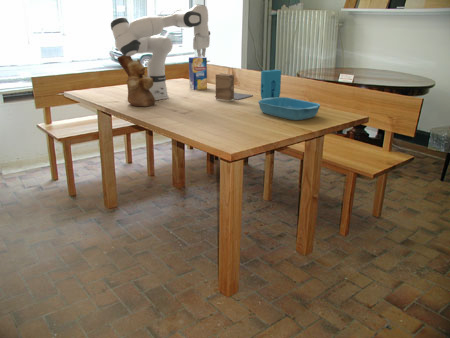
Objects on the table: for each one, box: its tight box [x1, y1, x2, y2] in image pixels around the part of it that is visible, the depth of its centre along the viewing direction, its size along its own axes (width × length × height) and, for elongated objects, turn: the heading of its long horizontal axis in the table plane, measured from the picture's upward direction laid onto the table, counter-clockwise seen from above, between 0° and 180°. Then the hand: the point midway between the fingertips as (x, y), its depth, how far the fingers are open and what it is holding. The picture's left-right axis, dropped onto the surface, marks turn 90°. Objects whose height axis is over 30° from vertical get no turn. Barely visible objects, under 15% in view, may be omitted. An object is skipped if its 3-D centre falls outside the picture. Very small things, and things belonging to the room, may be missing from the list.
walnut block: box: [215, 73, 235, 103], centre depth 285 cm, size 6×10×16 cm, turn 53°
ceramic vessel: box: [116, 54, 156, 107], centre depth 269 cm, size 16×22×30 cm
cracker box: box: [188, 56, 208, 91], centre depth 326 cm, size 7×11×22 cm, turn 122°
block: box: [260, 69, 282, 100], centre depth 272 cm, size 12×5×20 cm, turn 120°
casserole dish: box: [257, 96, 321, 121], centre depth 247 cm, size 37×22×7 cm, turn 38°
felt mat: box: [214, 92, 254, 101], centre depth 298 cm, size 18×18×1 cm
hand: (201, 56), depth 279 cm, fingers open, 6 cm apart
